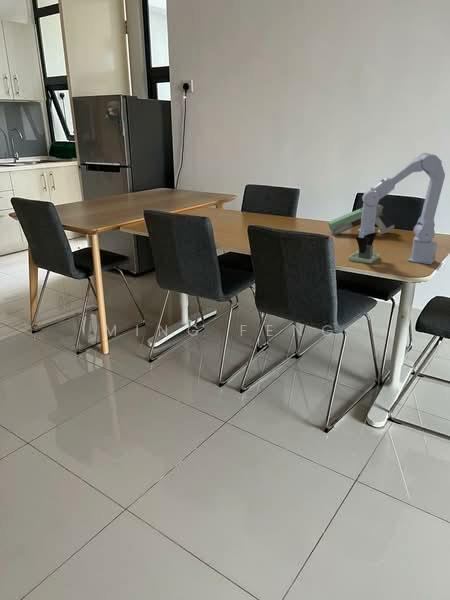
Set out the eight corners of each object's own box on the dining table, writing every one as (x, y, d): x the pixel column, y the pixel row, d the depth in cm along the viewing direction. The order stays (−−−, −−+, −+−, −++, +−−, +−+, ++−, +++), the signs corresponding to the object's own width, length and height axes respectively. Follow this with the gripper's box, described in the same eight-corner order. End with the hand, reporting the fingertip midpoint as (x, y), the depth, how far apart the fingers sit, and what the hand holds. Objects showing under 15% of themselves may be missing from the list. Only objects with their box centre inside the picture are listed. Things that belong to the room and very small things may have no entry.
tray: (379, 258, 199) (379, 254, 198) (371, 264, 190) (371, 260, 190) (357, 254, 204) (357, 250, 203) (348, 260, 196) (348, 256, 195)
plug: (371, 257, 197) (373, 245, 195) (369, 259, 194) (370, 247, 192) (356, 255, 200) (358, 243, 198) (354, 257, 198) (355, 245, 196)
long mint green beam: (396, 229, 238) (386, 194, 231) (339, 252, 242) (327, 218, 235) (391, 226, 245) (381, 192, 238) (335, 249, 248) (324, 216, 241)
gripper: (364, 215, 198) (361, 245, 203) (352, 221, 187) (350, 253, 192) (380, 217, 195) (377, 248, 200) (369, 223, 184) (366, 255, 189)
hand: (365, 250), depth 196 cm, fingers open, 7 cm apart
